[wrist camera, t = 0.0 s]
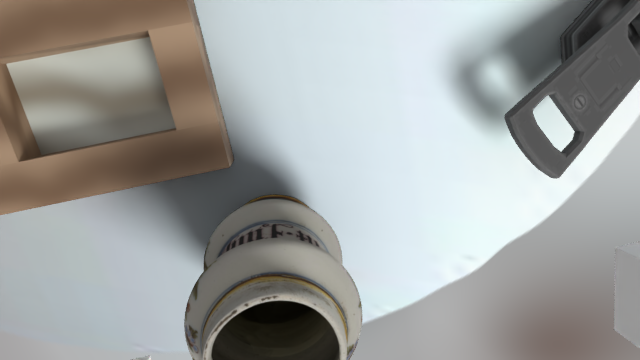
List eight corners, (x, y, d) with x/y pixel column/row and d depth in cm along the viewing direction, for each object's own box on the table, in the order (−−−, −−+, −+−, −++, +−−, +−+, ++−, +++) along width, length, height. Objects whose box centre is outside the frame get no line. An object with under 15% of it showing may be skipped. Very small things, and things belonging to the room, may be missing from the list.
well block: (-55, 22, 32) (-94, 15, 28) (188, -22, 33) (178, -34, 29) (21, 203, 36) (-6, 216, 33) (234, 159, 37) (229, 167, 34)
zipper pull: (499, 117, 32) (748, -111, 30) (462, 111, 38) (665, -77, 36) (556, 190, 34) (792, -16, 32) (512, 173, 41) (706, 0, 38)
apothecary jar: (354, 253, 41) (412, 380, 23) (259, 313, 41) (246, 480, 24) (292, 159, 38) (304, 226, 20) (189, 225, 38) (117, 345, 21)
